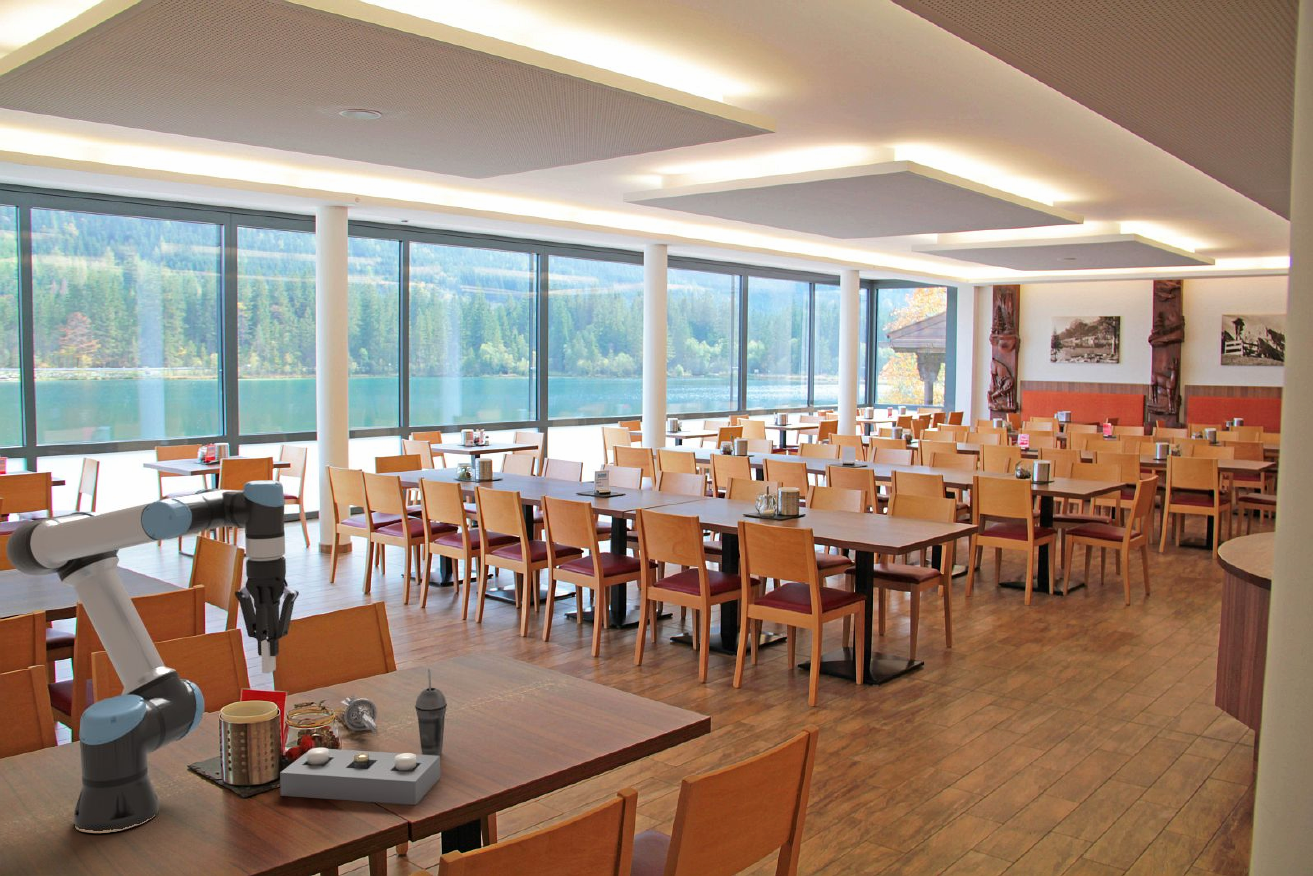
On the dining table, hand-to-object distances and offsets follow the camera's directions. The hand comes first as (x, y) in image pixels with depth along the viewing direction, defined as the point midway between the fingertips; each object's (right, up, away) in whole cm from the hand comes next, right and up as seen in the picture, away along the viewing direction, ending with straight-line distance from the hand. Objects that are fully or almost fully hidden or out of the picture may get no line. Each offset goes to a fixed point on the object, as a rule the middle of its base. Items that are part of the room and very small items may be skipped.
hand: (268, 671), depth 208 cm
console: (+16, -28, +12) cm, 34 cm away
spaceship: (+6, -25, +46) cm, 53 cm away
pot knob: (+16, -24, +12) cm, 31 cm away
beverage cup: (+27, -27, +30) cm, 48 cm away
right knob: (+26, -26, +10) cm, 38 cm away
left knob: (+6, -25, +13) cm, 29 cm away
